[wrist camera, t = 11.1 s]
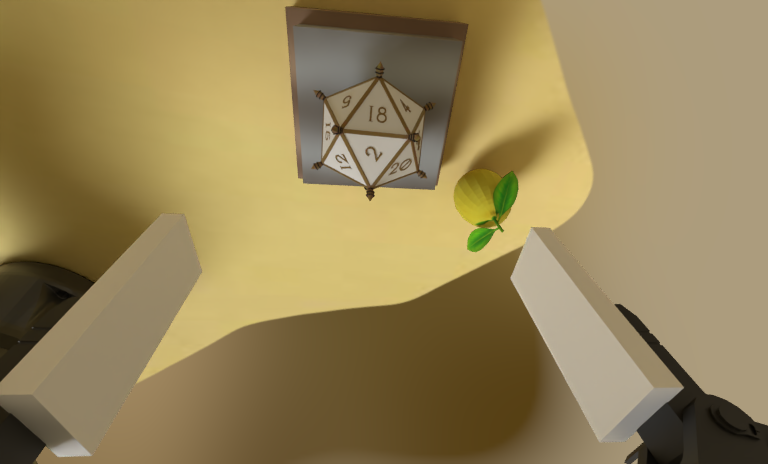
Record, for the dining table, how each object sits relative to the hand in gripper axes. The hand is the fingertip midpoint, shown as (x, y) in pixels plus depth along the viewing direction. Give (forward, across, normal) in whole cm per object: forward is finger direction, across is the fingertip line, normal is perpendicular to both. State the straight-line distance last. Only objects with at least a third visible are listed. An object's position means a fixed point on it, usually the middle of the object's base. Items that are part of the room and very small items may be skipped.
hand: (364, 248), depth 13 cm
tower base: (+23, -1, 0) cm, 23 cm away
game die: (+17, -1, 0) cm, 17 cm away
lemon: (+23, -13, +8) cm, 27 cm away
